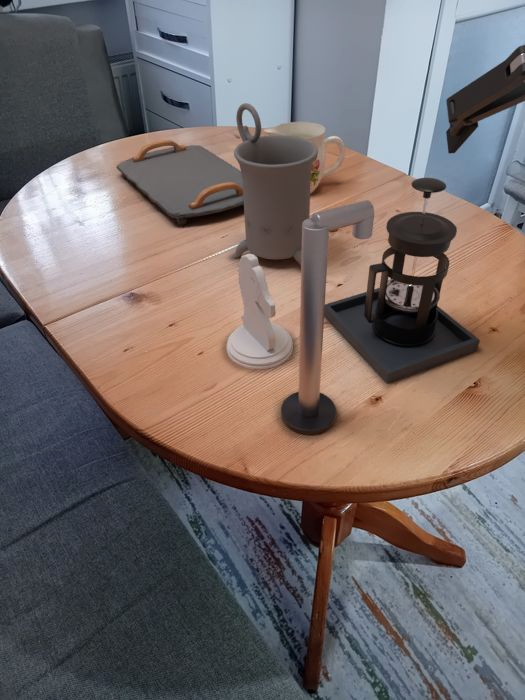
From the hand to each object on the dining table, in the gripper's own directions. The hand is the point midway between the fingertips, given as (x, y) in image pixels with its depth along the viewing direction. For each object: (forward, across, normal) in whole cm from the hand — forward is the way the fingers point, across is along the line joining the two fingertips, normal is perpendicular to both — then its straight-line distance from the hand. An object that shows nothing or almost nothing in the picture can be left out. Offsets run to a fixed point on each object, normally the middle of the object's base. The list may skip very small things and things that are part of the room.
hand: (505, 138), depth 65 cm
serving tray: (+60, -43, +20) cm, 76 cm away
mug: (+37, -26, -2) cm, 46 cm away
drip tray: (+19, -10, -21) cm, 30 cm away
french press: (+19, -10, -20) cm, 29 cm away
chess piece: (+18, -31, -22) cm, 42 cm away
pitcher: (+56, -17, +17) cm, 61 cm away
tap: (+8, -24, -31) cm, 40 cm away
